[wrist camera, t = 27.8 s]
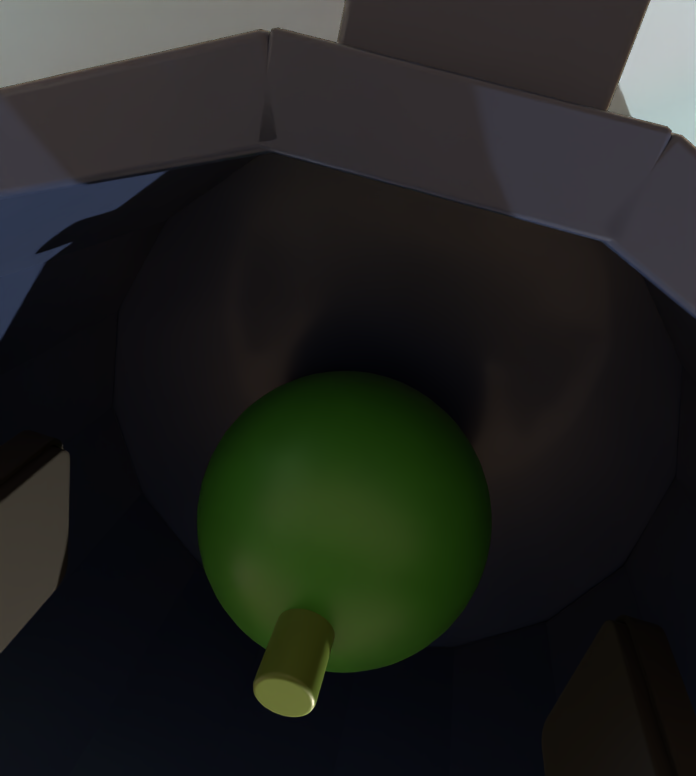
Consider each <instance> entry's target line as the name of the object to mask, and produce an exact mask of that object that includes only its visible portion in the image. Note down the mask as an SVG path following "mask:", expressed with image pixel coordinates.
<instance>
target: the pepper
mask: <svg viewBox="0 0 696 776" xmlns="http://www.w3.org/2000/svg"><path fill="white" fill-rule="evenodd" d="M491 532H492V512H491V501H490V495H489V490H488V485H487V482H486V478H485V475H484V472H483V469H482V466H481V463H480V461H479V459H478V457H477V455H476V453H475V451H474V449H473V447H472V445H471V443H470V442H469V440H468V439H467V437H466V436H465V434H464V433H463V431H462V430H461V429H460V427H459V426H458V424H457V423H456V422H455V421H454V420H453V419H452V418H451V417H450V416H449V415H448V414H447V413H446V412H445V411H444V410H443V409H442V408H441V407H439V406H438V405H437V404H436V403H435V402H433V401H432V400H431V399H430V398H428V397H427V396H425V395H424V394H422V393H421V392H419V391H418V390H416V389H414V388H412V387H410V386H408V385H406V384H404V383H402V382H399V381H397V380H394V379H391V378H388V377H385V376H381V375H377V374H373V373H367V372H359V371H331V372H323V373H316V374H312V375H308V376H304V377H301V378H298V379H296V380H293V381H291V382H288V383H286V384H284V385H281V386H279V387H277V388H275V389H273V390H272V391H270V392H268V393H267V394H265V395H264V396H262V397H261V398H260V399H258V400H257V401H255V402H254V403H253V404H252V405H251V406H249V407H248V408H247V409H246V410H245V411H244V412H243V413H242V414H241V415H240V416H239V417H238V418H237V419H236V421H235V422H234V423H233V424H232V425H231V426H230V427H229V429H228V430H227V431H226V432H225V434H224V436H223V437H222V439H221V441H220V442H219V444H218V446H217V447H216V449H215V451H214V452H213V454H212V456H211V459H210V461H209V464H208V466H207V469H206V472H205V475H204V478H203V480H202V484H201V490H200V495H199V501H198V508H197V536H198V544H199V550H200V554H201V559H202V563H203V566H204V569H205V573H206V576H207V578H208V580H209V582H210V584H211V587H212V589H213V591H214V593H215V595H216V597H217V599H218V600H219V602H220V604H221V605H222V607H223V608H224V610H225V611H226V612H227V614H228V615H229V616H230V617H231V619H232V620H233V621H234V622H235V623H236V625H237V626H238V627H239V628H240V629H241V630H242V631H243V632H244V633H245V634H246V635H247V636H249V637H250V638H251V639H252V640H253V641H254V642H256V643H257V644H259V645H260V646H261V647H263V648H264V649H266V651H265V653H264V656H263V658H262V661H261V663H260V666H259V668H258V671H257V674H256V676H255V679H254V681H253V692H254V695H255V697H256V698H257V700H258V701H259V702H260V703H261V704H262V705H263V706H264V707H266V708H267V709H269V710H270V711H272V712H274V713H277V714H280V715H283V716H288V717H300V716H304V715H307V714H308V713H310V712H311V711H312V709H313V708H314V707H315V705H316V702H317V698H318V695H319V691H320V688H321V684H322V681H323V677H324V674H325V671H328V672H340V673H349V672H361V671H367V670H372V669H378V668H382V667H385V666H389V665H392V664H394V663H397V662H399V661H402V660H404V659H406V658H408V657H410V656H412V655H414V654H416V653H418V652H419V651H421V650H423V649H424V648H426V647H427V646H428V645H430V644H431V643H432V642H433V641H435V640H436V639H437V638H438V637H440V636H441V635H442V634H443V633H444V632H446V631H447V629H448V628H449V627H450V626H451V625H452V624H453V622H454V621H455V620H456V619H457V618H458V617H459V615H460V614H461V613H462V612H463V611H464V609H465V608H466V606H467V604H468V603H469V601H470V599H471V597H472V596H473V594H474V592H475V590H476V588H477V587H478V584H479V582H480V579H481V576H482V574H483V571H484V568H485V565H486V562H487V558H488V553H489V547H490V541H491Z"/></svg>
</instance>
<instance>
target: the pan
mask: <svg viewBox="0 0 696 776" xmlns="http://www.w3.org/2000/svg"><path fill="white" fill-rule="evenodd" d="M649 3H650V0H345V4H344V9H343V14H342V19H341V24H340V30H339V35H338V40H337V43H336V42H333V41H329V40H325V39H321V38H317V37H313V36H309V35H305V34H301V33H297V32H293V31H289V30H285V29H281V28H274V29H272V30H271V32H270V31H266V30H262V29H259V30H254V31H250V32H246V33H241V34H237V35H232V36H228V37H224V38H219V39H215V40H210V41H206V42H201V43H197V44H193V45H188V46H184V47H179V48H175V49H170V50H166V51H162V52H157V53H153V54H148V55H144V56H140V57H135V58H131V59H126V60H122V61H117V62H113V63H109V64H104V65H100V66H95V67H91V68H86V69H82V70H78V71H73V72H69V73H64V74H60V75H55V76H51V77H47V78H42V79H38V80H33V81H29V82H25V83H20V84H16V85H11V86H7V87H2V88H0V446H1V445H3V444H4V443H6V442H7V441H8V440H10V439H11V438H13V437H14V436H15V435H17V434H18V433H20V432H22V431H24V430H31V431H34V432H37V433H40V434H44V435H47V436H50V437H53V438H57V439H59V440H61V442H62V444H63V450H66V451H68V452H69V454H70V484H69V533H68V567H67V571H66V574H65V576H64V578H63V580H62V582H61V583H60V585H59V586H58V587H57V589H56V590H55V591H54V592H53V593H52V594H51V595H50V597H49V598H48V599H47V600H46V601H45V602H44V603H43V605H42V606H41V607H40V608H39V609H38V610H37V612H36V613H35V614H34V615H33V616H32V617H31V618H30V620H29V621H28V622H27V623H26V624H25V625H24V627H23V628H22V629H21V630H20V631H19V632H18V633H17V635H16V636H15V637H14V638H13V639H12V640H11V642H10V643H9V644H8V645H7V646H6V647H5V648H4V650H3V651H2V652H1V653H0V776H545V771H544V762H543V753H542V742H541V739H542V730H543V726H544V723H545V721H546V719H547V717H548V715H549V714H550V712H551V710H552V709H553V707H554V705H555V703H556V702H557V700H558V698H559V697H560V695H561V693H562V692H563V690H564V688H565V687H566V685H567V683H568V682H569V680H570V678H571V677H572V675H573V673H574V672H575V670H576V668H577V667H578V665H579V663H580V662H581V660H582V658H583V657H584V655H585V653H586V652H587V650H588V648H589V647H590V645H591V643H592V642H593V640H594V638H595V637H596V635H597V633H598V632H599V630H600V628H601V627H602V625H603V624H604V622H605V621H607V620H613V621H615V620H616V619H617V618H618V617H619V616H620V615H628V616H631V617H634V618H637V619H640V620H644V621H647V622H650V623H653V624H657V625H659V626H660V627H661V628H662V629H663V630H664V632H665V634H666V637H667V640H668V642H669V645H670V648H671V650H672V653H673V656H674V659H675V661H676V664H677V667H678V669H679V672H680V675H681V677H682V680H683V683H684V685H685V688H686V691H687V694H688V696H689V699H690V702H691V704H692V707H693V710H694V712H695V715H696V147H695V146H694V145H693V144H692V143H691V142H689V141H688V140H687V139H686V138H685V137H684V136H682V135H680V134H676V133H672V130H671V129H670V128H668V127H667V126H664V125H660V124H656V123H652V122H648V121H644V120H640V119H636V118H632V117H628V116H624V115H620V114H616V113H612V112H608V108H609V106H610V103H611V101H612V98H613V96H614V93H615V90H616V88H617V85H618V83H619V80H620V78H621V75H622V72H623V70H624V67H625V65H626V62H627V60H628V57H629V54H630V52H631V49H632V47H633V44H634V41H635V39H636V36H637V34H638V31H639V29H640V26H641V23H642V21H643V18H644V16H645V13H646V11H647V8H648V5H649ZM331 371H359V372H367V373H373V374H377V375H381V376H385V377H388V378H391V379H394V380H397V381H399V382H402V383H404V384H406V385H408V386H410V387H412V388H414V389H416V390H418V391H419V392H421V393H422V394H424V395H425V396H427V397H428V398H430V399H431V400H432V401H433V402H435V403H436V404H437V405H438V406H439V407H441V408H442V409H443V410H444V411H445V412H446V413H447V414H448V415H449V416H450V417H451V418H452V419H453V420H454V421H455V422H456V423H457V424H458V426H459V427H460V429H461V430H462V431H463V433H464V434H465V436H466V437H467V439H468V440H469V442H470V443H471V445H472V447H473V449H474V451H475V453H476V455H477V457H478V459H479V461H480V463H481V466H482V469H483V472H484V475H485V478H486V482H487V485H488V490H489V495H490V501H491V512H492V532H491V541H490V547H489V553H488V558H487V562H486V565H485V568H484V571H483V574H482V576H481V579H480V582H479V584H478V587H477V588H476V590H475V592H474V594H473V596H472V597H471V599H470V601H469V603H468V604H467V606H466V608H465V609H464V611H463V612H462V613H461V614H460V615H459V617H458V618H457V619H456V620H455V621H454V622H453V624H452V625H451V626H450V627H449V628H448V629H447V631H446V632H444V633H443V634H442V635H441V636H440V637H438V638H437V639H436V640H435V641H433V642H432V643H431V644H430V645H428V646H427V647H426V648H424V649H423V650H421V651H419V652H418V653H416V654H414V655H412V656H410V657H408V658H406V659H404V660H402V661H399V662H397V663H394V664H392V665H389V666H385V667H382V668H378V669H372V670H367V671H361V672H349V673H340V672H328V671H325V674H324V677H323V681H322V684H321V688H320V691H319V695H318V698H317V702H316V705H315V707H314V708H313V709H312V711H311V712H310V713H308V714H307V715H304V716H300V717H288V716H283V715H280V714H277V713H274V712H272V711H270V710H269V709H267V708H266V707H264V706H263V705H262V704H261V703H260V702H259V701H258V700H257V698H256V697H255V695H254V692H253V681H254V679H255V676H256V674H257V671H258V668H259V666H260V663H261V661H262V658H263V656H264V653H265V651H266V649H264V648H263V647H261V646H260V645H259V644H257V643H256V642H254V641H253V640H252V639H251V638H250V637H249V636H247V635H246V634H245V633H244V632H243V631H242V630H241V629H240V628H239V627H238V626H237V625H236V623H235V622H234V621H233V620H232V619H231V617H230V616H229V615H228V614H227V612H226V611H225V610H224V608H223V607H222V605H221V604H220V602H219V600H218V599H217V597H216V595H215V593H214V591H213V589H212V587H211V584H210V582H209V580H208V578H207V576H206V573H205V569H204V566H203V563H202V559H201V554H200V550H199V544H198V536H197V508H198V501H199V495H200V490H201V484H202V480H203V478H204V475H205V472H206V469H207V466H208V464H209V461H210V459H211V456H212V454H213V452H214V451H215V449H216V447H217V446H218V444H219V442H220V441H221V439H222V437H223V436H224V434H225V432H226V431H227V430H228V429H229V427H230V426H231V425H232V424H233V423H234V422H235V421H236V419H237V418H238V417H239V416H240V415H241V414H242V413H243V412H244V411H245V410H246V409H247V408H248V407H249V406H251V405H252V404H253V403H254V402H255V401H257V400H258V399H260V398H261V397H262V396H264V395H265V394H267V393H268V392H270V391H272V390H273V389H275V388H277V387H279V386H281V385H284V384H286V383H288V382H291V381H293V380H296V379H298V378H301V377H304V376H308V375H312V374H316V373H323V372H331Z"/></svg>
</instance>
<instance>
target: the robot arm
mask: <svg viewBox="0 0 696 776" xmlns="http://www.w3.org/2000/svg"><path fill="white" fill-rule="evenodd" d="M69 484H70V454H69V452H68V451H66V450H63V444H62V442H61V440H59V439H57V438H53V437H50V436H47V435H44V434H40V433H37V432H34V431H31V430H24V431H22V432H20V433H18V434H17V435H15V436H14V437H13V438H11V439H10V440H8V441H7V442H6V443H4V444H3V445H1V446H0V653H1V652H2V651H3V650H4V648H5V647H6V646H7V645H8V644H9V643H10V642H11V640H12V639H13V638H14V637H15V636H16V635H17V633H18V632H19V631H20V630H21V629H22V628H23V627H24V625H25V624H26V623H27V622H28V621H29V620H30V618H31V617H32V616H33V615H34V614H35V613H36V612H37V610H38V609H39V608H40V607H41V606H42V605H43V603H44V602H45V601H46V600H47V599H48V598H49V597H50V595H51V594H52V593H53V592H54V591H55V590H56V589H57V587H58V586H59V585H60V583H61V582H62V580H63V578H64V576H65V574H66V571H67V567H68V533H69ZM541 742H542V753H543V762H544V771H545V776H696V715H695V712H694V710H693V707H692V704H691V702H690V699H689V696H688V694H687V691H686V688H685V685H684V683H683V680H682V677H681V675H680V672H679V669H678V667H677V664H676V661H675V659H674V656H673V653H672V650H671V648H670V645H669V642H668V640H667V637H666V634H665V632H664V630H663V629H662V628H661V627H660V626H659V625H657V624H653V623H650V622H647V621H644V620H640V619H637V618H634V617H631V616H628V615H620V616H619V617H618V618H617V619H616V620H615V621H613V620H607V621H605V622H604V624H603V625H602V627H601V628H600V630H599V632H598V633H597V635H596V637H595V638H594V640H593V642H592V643H591V645H590V647H589V648H588V650H587V652H586V653H585V655H584V657H583V658H582V660H581V662H580V663H579V665H578V667H577V668H576V670H575V672H574V673H573V675H572V677H571V678H570V680H569V682H568V683H567V685H566V687H565V688H564V690H563V692H562V693H561V695H560V697H559V698H558V700H557V702H556V703H555V705H554V707H553V709H552V710H551V712H550V714H549V715H548V717H547V719H546V721H545V723H544V726H543V730H542V739H541Z"/></svg>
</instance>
